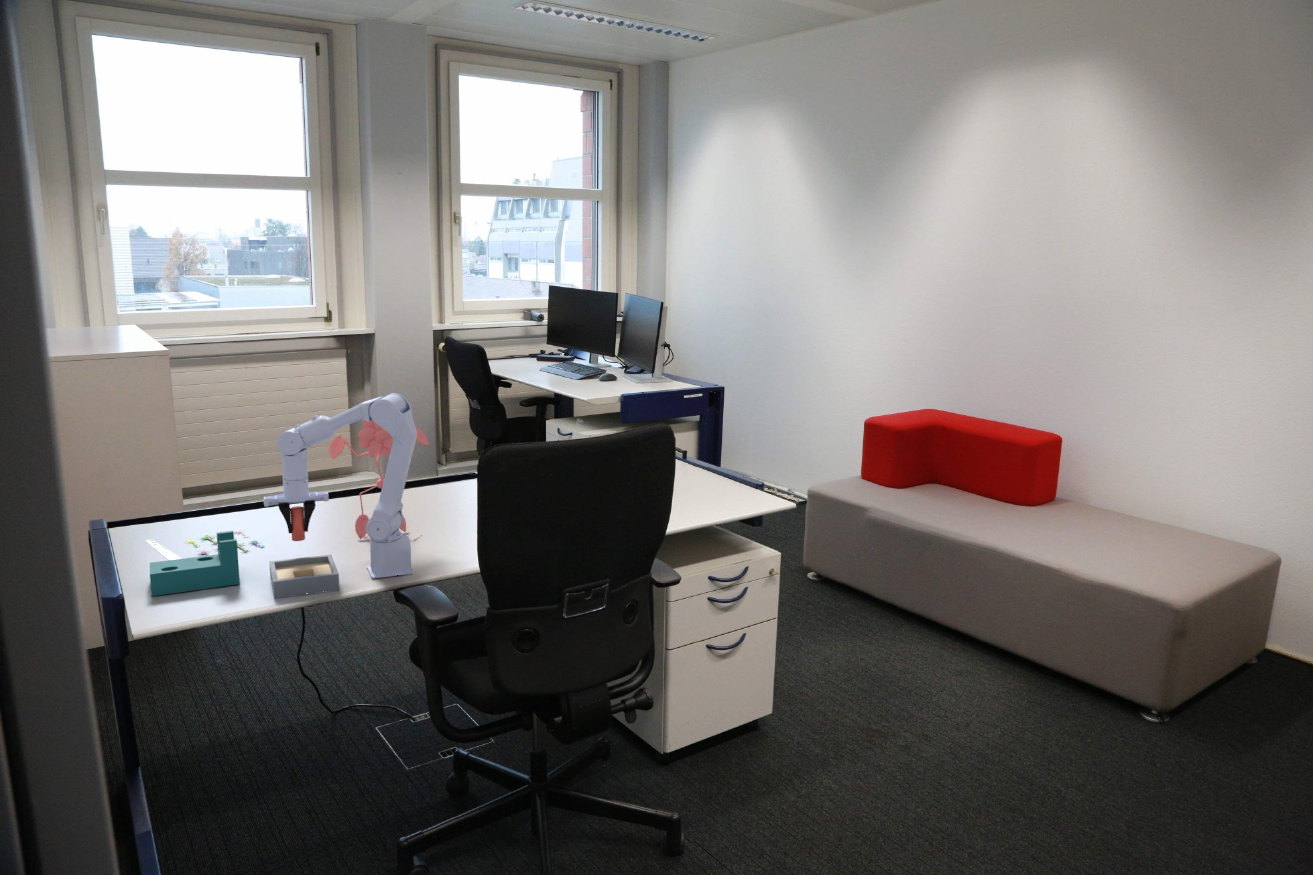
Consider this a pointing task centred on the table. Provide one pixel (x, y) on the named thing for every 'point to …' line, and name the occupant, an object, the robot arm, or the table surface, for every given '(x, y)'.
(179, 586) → the teal l-shaped bracket
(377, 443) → the figurine
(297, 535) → the peg
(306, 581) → the box
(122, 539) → the table surface
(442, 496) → the table surface
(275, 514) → the table surface
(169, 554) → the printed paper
